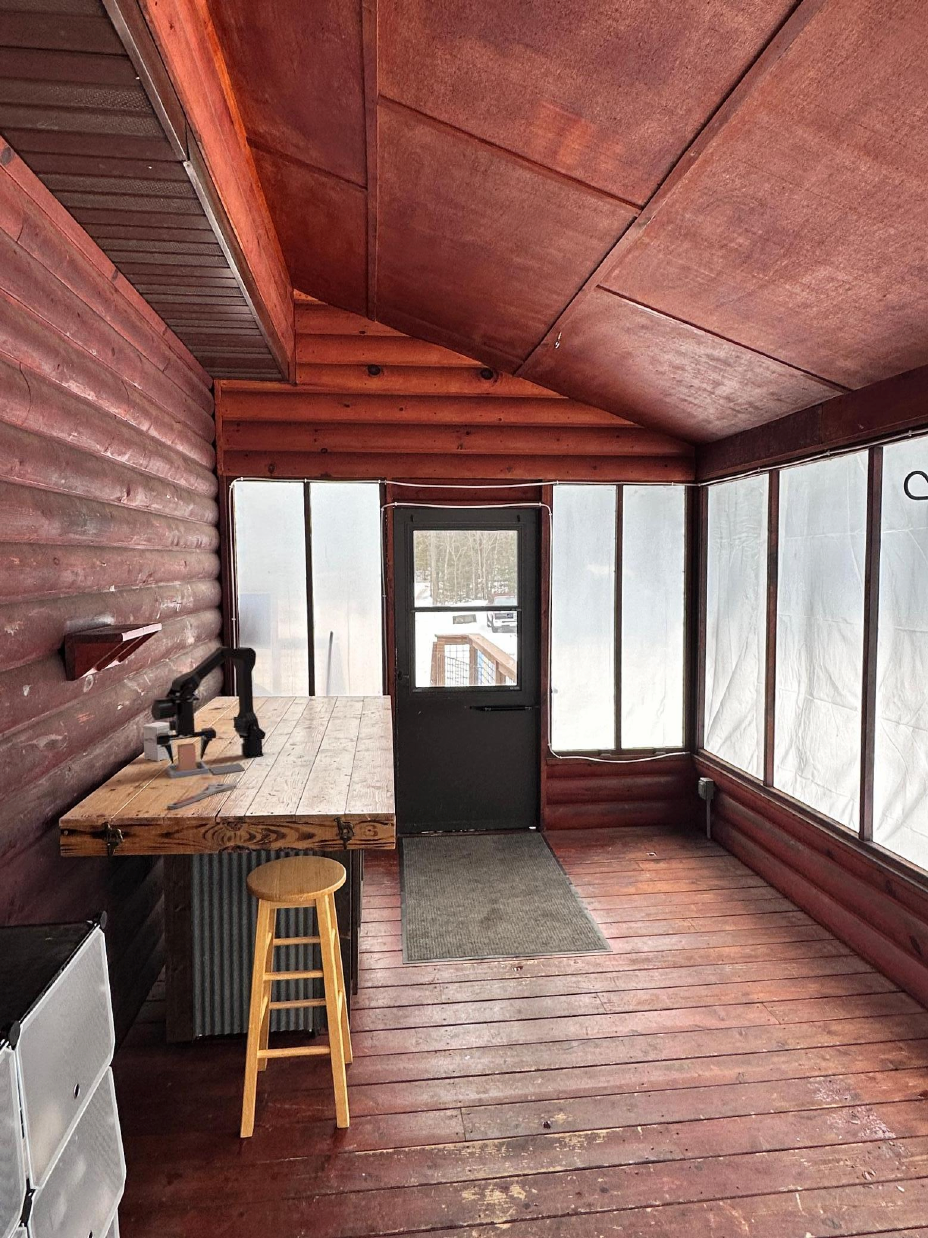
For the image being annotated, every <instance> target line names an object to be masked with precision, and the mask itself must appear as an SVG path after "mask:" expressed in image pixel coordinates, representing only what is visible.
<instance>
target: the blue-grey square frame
mask: <svg viewBox="0 0 928 1238" xmlns="http://www.w3.org/2000/svg"><path fill="white" fill-rule="evenodd" d="M197 767H200V768H198V769H197ZM176 770H178V763H177V764H170V765H166V771H167V774H168V775H169V777H170V779H177V778H185V777H190V776H198V775H203V774H209V767H208V766H207V764H205V763H204V761H203V760H199V761H196V770H190V771H183V772H179V771H177V772H173V771H176Z"/></svg>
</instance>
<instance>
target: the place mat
mask: <svg viewBox="0 0 928 1238" xmlns="http://www.w3.org/2000/svg"><path fill="white" fill-rule="evenodd" d="M208 770H210V772H211V773H212V775H214V776H219V775H226V774H233V773H240V772H246V769H245V768H244V766H243V765H242V764H241V763H239V762H237V763H230V764H223V765H218V766H217V765H215V766H210V767H208Z"/></svg>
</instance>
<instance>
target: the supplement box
mask: <svg viewBox="0 0 928 1238" xmlns="http://www.w3.org/2000/svg"><path fill="white" fill-rule="evenodd" d="M142 731H143V753H144V754H143V755H144V760H147V759H151V760H150V761H154V760H155V761H156V762H161V761H160V760H162V759H165V760H168V759H167V758H169V759H170V757H169V755H168V752H167V750H166V749H165V747H161V745H157V744H156V742H155V735H156V734H159V733H168V734H169V735H174V731H170V730H169V722H163V721H156V722H152V723H147V724H143V725H142ZM169 743H170V744H171V748H172V754H173V758H174V757H175V753H174V752H175V750H174V748H175V747H174V740H171V741H170V742H169ZM162 761H163V760H162Z"/></svg>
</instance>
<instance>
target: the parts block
mask: <svg viewBox="0 0 928 1238" xmlns="http://www.w3.org/2000/svg"><path fill="white" fill-rule="evenodd" d="M176 747H177V750H176V751H177V764H178V769H177V770H178V771H177V772H183V771H190V770H197V767H196V762H197V759H196V757H197V756H196V755H197V754H196V753H197V752H196V745H195V744H194V742H190V743H189V742H188V743H180V744H177V745H176Z"/></svg>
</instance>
